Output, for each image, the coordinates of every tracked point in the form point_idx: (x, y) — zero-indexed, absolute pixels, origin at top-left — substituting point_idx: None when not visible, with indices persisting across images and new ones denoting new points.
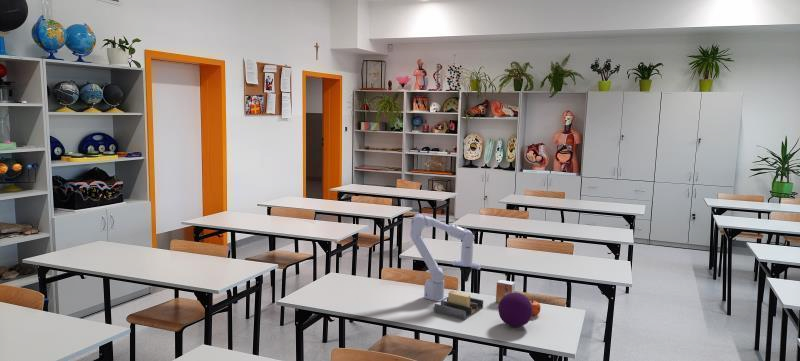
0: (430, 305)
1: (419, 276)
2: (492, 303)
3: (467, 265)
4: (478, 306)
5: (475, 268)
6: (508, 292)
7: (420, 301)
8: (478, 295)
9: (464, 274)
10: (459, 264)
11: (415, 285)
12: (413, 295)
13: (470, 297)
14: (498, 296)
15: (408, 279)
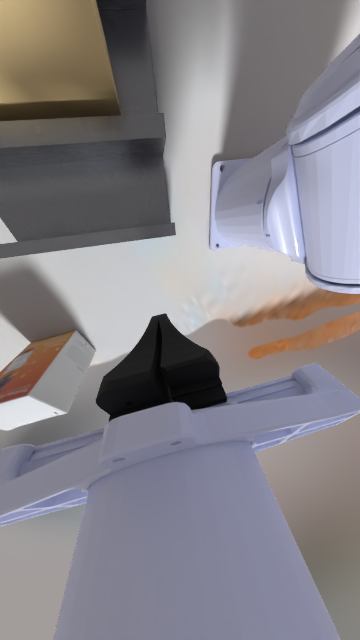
0: (230, 33)
1: (318, 328)
2: (73, 318)
3: (96, 461)
4: (32, 234)
5: (61, 441)
6: (5, 374)
7: (301, 77)
8: None
9: (162, 338)
10: (248, 407)
11: None
12: None
13: (79, 246)
14: (56, 346)
15: (345, 298)
